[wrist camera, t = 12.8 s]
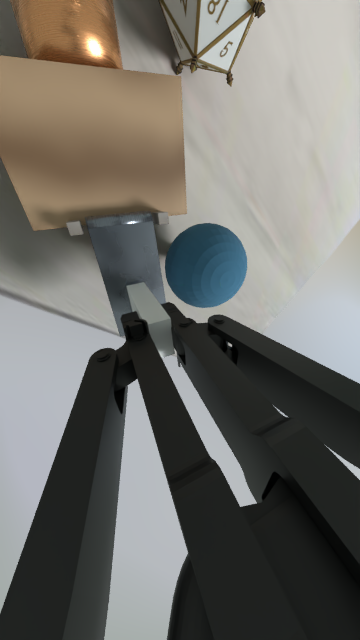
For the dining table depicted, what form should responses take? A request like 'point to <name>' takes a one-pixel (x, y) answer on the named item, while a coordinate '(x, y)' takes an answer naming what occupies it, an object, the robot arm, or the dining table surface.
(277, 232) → the dining table surface
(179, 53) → the game die
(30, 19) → the pin
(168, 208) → the hitch block
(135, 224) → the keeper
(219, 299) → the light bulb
